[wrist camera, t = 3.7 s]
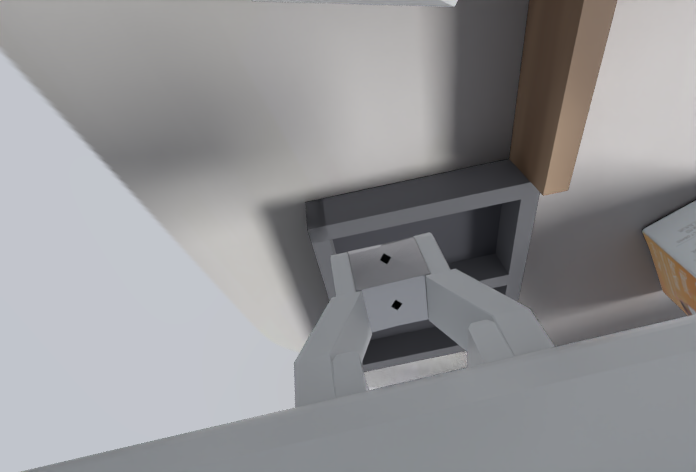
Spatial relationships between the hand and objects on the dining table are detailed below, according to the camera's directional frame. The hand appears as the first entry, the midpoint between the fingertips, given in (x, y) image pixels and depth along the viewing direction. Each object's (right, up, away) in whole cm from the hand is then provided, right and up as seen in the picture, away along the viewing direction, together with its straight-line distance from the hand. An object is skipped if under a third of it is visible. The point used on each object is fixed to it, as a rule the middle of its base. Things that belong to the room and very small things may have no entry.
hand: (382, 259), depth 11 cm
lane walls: (-3, +14, -4) cm, 15 cm away
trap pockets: (+3, -1, +10) cm, 10 cm away
